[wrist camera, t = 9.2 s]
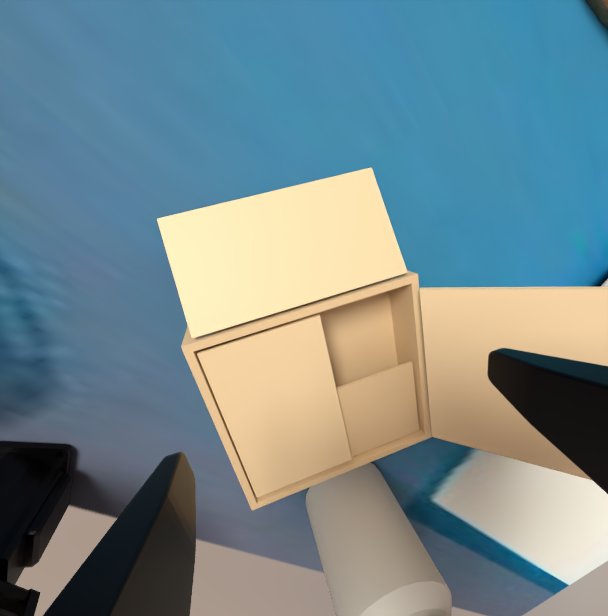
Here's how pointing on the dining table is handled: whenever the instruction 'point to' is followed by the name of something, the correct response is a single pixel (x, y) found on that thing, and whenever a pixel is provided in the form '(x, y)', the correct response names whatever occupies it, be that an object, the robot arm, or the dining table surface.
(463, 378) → the flap
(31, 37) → the dining table surface
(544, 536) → the dining table surface
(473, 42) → the dining table surface
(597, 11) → the trivet
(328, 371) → the carton
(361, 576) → the can
